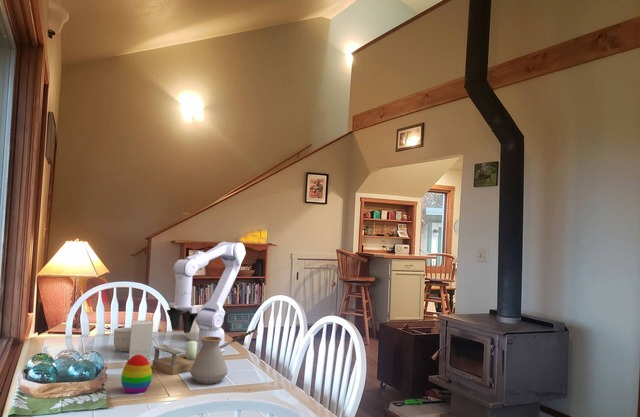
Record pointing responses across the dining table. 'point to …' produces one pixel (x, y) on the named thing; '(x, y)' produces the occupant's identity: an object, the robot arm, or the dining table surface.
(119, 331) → the teacup
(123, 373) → the decorative egg
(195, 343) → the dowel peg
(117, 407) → the dining table surface
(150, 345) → the supplement box
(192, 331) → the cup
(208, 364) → the coffee pot
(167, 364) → the socket board
